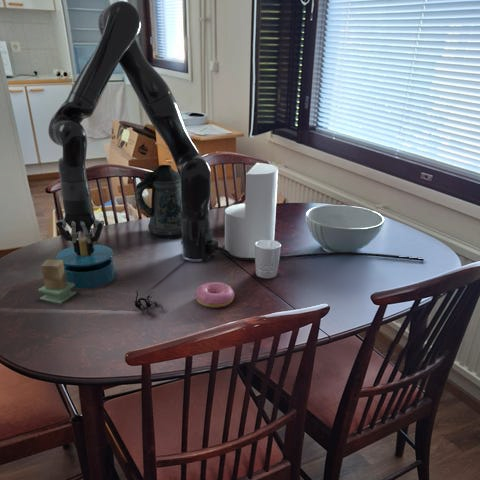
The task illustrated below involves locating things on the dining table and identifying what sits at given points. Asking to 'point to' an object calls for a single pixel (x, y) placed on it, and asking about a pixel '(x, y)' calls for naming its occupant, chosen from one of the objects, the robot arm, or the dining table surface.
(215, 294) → the doughnut
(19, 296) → the dining table surface
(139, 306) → the creature
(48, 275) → the block
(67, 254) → the tin lid
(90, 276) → the tin
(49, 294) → the stand
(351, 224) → the decorative bowl
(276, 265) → the white cup
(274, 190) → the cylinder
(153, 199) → the beer stein
